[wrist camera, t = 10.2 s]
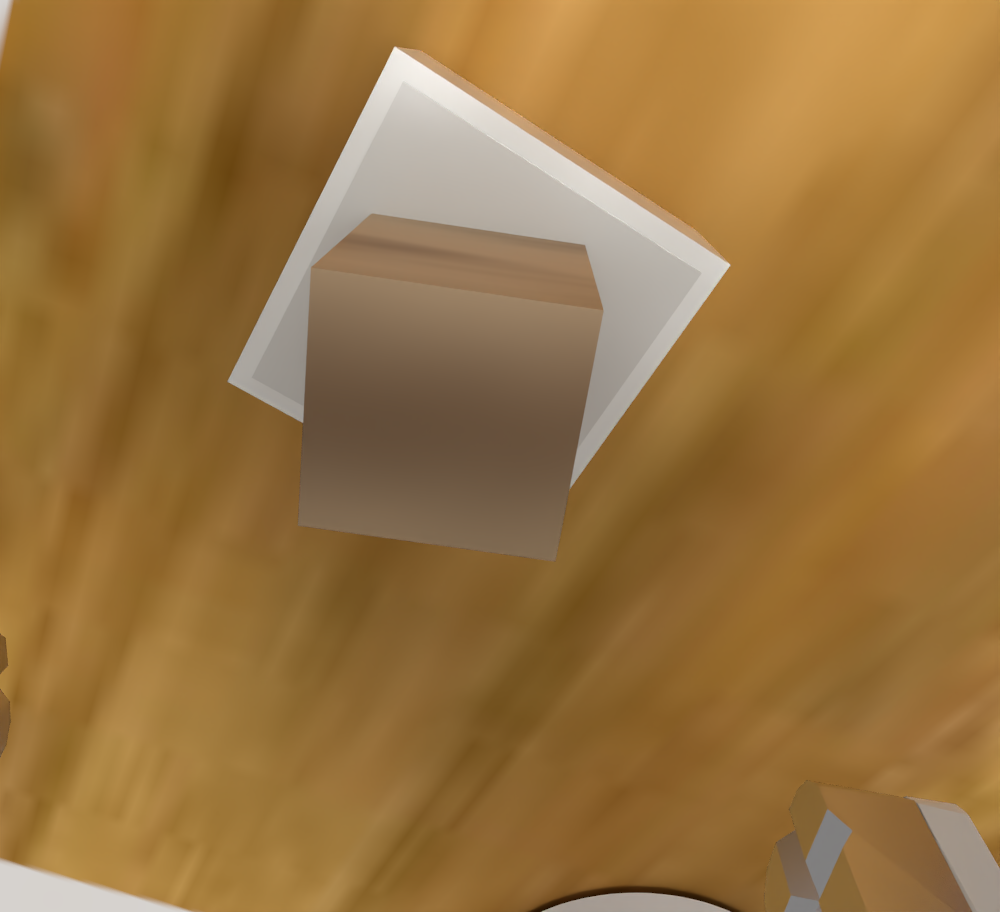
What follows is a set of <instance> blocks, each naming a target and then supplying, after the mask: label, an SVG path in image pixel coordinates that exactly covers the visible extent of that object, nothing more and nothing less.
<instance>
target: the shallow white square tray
mask: <svg viewBox="0 0 1000 912" xmlns="http://www.w3.org/2000/svg"><path fill="white" fill-rule="evenodd" d="M371 213H373V214H379V215H386V216H393V217H400V218H406V219H413V220H420V221H427V222H433V223H440V224H447V225H453V226H460V227H467V228H474V229H480V230H487V231H494V232H501V233H507V234H514V235H521V236H528V237H534V238H541V239H548V240H555V241H561V242H568V243H575V244H582V245H585V247H586V250H587V254H588V257H589V261H590V264H591V268H592V271H593V275H594V278H595V282H596V285H597V289H598V292H599V296H600V299H601V303H602V306H603V310H604V312H603V317H602V322H601V327H600V332H599V338H598V343H597V348H596V353H595V358H594V364H593V369H592V374H591V379H590V384H589V390H588V395H587V400H586V405H585V410H584V416H583V421H582V426H581V431H580V437H579V442H578V447H577V452H576V457H575V463H574V468H573V473H572V478H571V483H570V488H571V487H572V485H573V484H574V482H575V481H576V480H577V478H578V477H579V475H580V474H581V473H582V471H583V470H584V468H585V467H586V466H587V464H588V463H589V461H590V460H591V459H592V457H593V456H594V454H595V453H596V452H597V450H598V449H599V448H600V446H601V445H602V443H603V442H604V441H605V439H606V438H607V436H608V435H609V434H610V432H611V431H612V429H613V428H614V427H615V425H616V424H617V422H618V421H619V420H620V418H621V417H622V415H623V414H624V413H625V411H626V410H627V409H628V407H629V406H630V404H631V403H632V402H633V400H634V399H635V397H636V396H637V395H638V393H639V392H640V390H641V389H642V388H643V386H644V385H645V383H646V382H647V381H648V379H649V378H650V376H651V375H652V374H653V372H654V371H655V370H656V368H657V367H658V365H659V364H660V363H661V361H662V360H663V358H664V357H665V356H666V354H667V353H668V351H669V350H670V349H671V347H672V346H673V344H674V343H675V342H676V340H677V339H678V337H679V336H680V335H681V333H682V332H683V331H684V329H685V328H686V326H687V325H688V324H689V322H690V321H691V319H692V318H693V317H694V315H695V314H696V312H697V311H698V310H699V308H700V307H701V305H702V304H703V303H704V301H705V300H706V298H707V297H708V296H709V294H710V293H711V292H712V290H713V289H714V287H715V286H716V285H717V283H718V282H719V280H720V279H721V278H722V276H723V275H724V273H725V272H726V271H727V269H728V268H729V266H730V264H729V263H728V262H727V261H726V260H725V259H724V258H723V257H722V256H721V255H720V254H719V253H718V252H717V251H716V250H715V249H714V248H713V247H712V246H711V245H710V244H709V243H708V242H707V241H706V240H705V239H704V238H703V237H702V236H701V235H700V234H699V233H698V232H697V231H696V230H695V229H693V228H692V227H690V226H689V225H687V224H686V223H684V222H683V221H681V220H680V219H678V218H677V217H675V216H674V215H672V214H670V213H669V212H667V211H666V210H664V209H663V208H661V207H660V206H658V205H657V204H655V203H654V202H652V201H651V200H649V199H648V198H646V197H644V196H643V195H641V194H640V193H638V192H637V191H635V190H634V189H632V188H631V187H629V186H628V185H626V184H625V183H623V182H621V181H620V180H618V179H617V178H615V177H614V176H612V175H611V174H609V173H608V172H606V171H605V170H603V169H602V168H600V167H599V166H597V165H595V164H594V163H592V162H591V161H589V160H588V159H586V158H585V157H583V156H582V155H580V154H579V153H577V152H576V151H574V150H572V149H571V148H569V147H568V146H566V145H565V144H563V143H562V142H560V141H559V140H557V139H556V138H554V137H553V136H551V135H550V134H548V133H546V132H545V131H543V130H542V129H540V128H539V127H537V126H536V125H534V124H533V123H531V122H530V121H528V120H527V119H525V118H524V117H522V116H520V115H519V114H517V113H516V112H514V111H513V110H511V109H510V108H508V107H507V106H505V105H504V104H502V103H501V102H499V101H497V100H496V99H494V98H493V97H491V96H490V95H488V94H487V93H485V92H484V91H482V90H481V89H479V88H478V87H476V86H475V85H473V84H471V83H470V82H468V81H467V80H465V79H464V78H462V77H461V76H459V75H458V74H456V73H455V72H453V71H452V70H450V69H448V68H447V67H445V66H444V65H442V64H441V63H439V62H438V61H436V60H435V59H433V58H432V57H430V56H429V55H427V54H426V53H424V52H422V51H421V50H415V49H408V48H401V47H394V49H393V51H392V53H391V55H390V57H389V59H388V61H387V63H386V65H385V67H384V69H383V71H382V73H381V75H380V77H379V79H378V81H377V83H376V85H375V87H374V89H373V91H372V93H371V95H370V97H369V99H368V101H367V103H366V105H365V107H364V109H363V111H362V113H361V115H360V117H359V119H358V121H357V123H356V125H355V127H354V129H353V131H352V133H351V135H350V137H349V139H348V141H347V143H346V145H345V147H344V149H343V151H342V153H341V155H340V157H339V159H338V161H337V163H336V165H335V167H334V169H333V171H332V173H331V175H330V177H329V179H328V181H327V183H326V185H325V187H324V189H323V191H322V193H321V195H320V197H319V199H318V201H317V203H316V205H315V207H314V209H313V211H312V213H311V215H310V217H309V219H308V221H307V223H306V225H305V227H304V229H303V231H302V233H301V235H300V237H299V239H298V241H297V243H296V245H295V247H294V249H293V251H292V253H291V255H290V257H289V259H288V261H287V263H286V265H285V267H284V269H283V271H282V273H281V275H280V277H279V279H278V281H277V283H276V285H275V287H274V289H273V291H272V293H271V295H270V297H269V299H268V301H267V303H266V305H265V307H264V309H263V311H262V313H261V315H260V317H259V319H258V322H257V324H256V326H255V328H254V330H253V332H252V334H251V336H250V338H249V340H248V342H247V344H246V346H245V348H244V350H243V352H242V354H241V356H240V358H239V360H238V362H237V364H236V366H235V368H234V370H233V372H232V374H231V376H230V378H229V380H228V382H229V383H231V384H233V385H234V386H236V387H238V388H240V389H242V390H244V391H245V392H247V393H249V394H251V395H253V396H254V397H256V398H258V399H260V400H262V401H264V402H265V403H267V404H269V405H271V406H273V407H275V408H276V409H278V410H280V411H282V412H284V413H285V414H287V415H289V416H291V417H293V418H295V419H296V420H298V421H300V422H302V423H303V414H304V394H305V374H306V355H307V335H308V315H309V295H310V275H311V267H312V266H313V265H314V264H315V263H316V262H318V261H319V260H320V259H321V258H322V257H323V256H324V255H325V254H327V253H328V252H329V251H330V250H331V249H332V248H333V247H334V246H336V245H337V244H338V243H339V242H340V241H341V240H342V239H343V238H344V237H346V236H347V235H348V234H349V233H350V232H351V231H352V230H353V229H355V228H356V227H357V226H358V225H359V224H360V223H361V222H362V221H364V220H365V219H366V218H367V217H368V216H369V215H370V214H371Z"/></svg>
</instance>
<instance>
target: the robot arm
mask: <svg viewBox="0 0 1000 912" xmlns="http://www.w3.org/2000/svg"><path fill="white" fill-rule="evenodd" d="M7 666H8V658H7V648H6V638H5V637H4V636H2V635H1V634H0V674H1V673H2V672H3V671H4V669H5V668H6V667H7ZM10 723H11V718H10V701H9V700H8V699H7V697H6V696H5V695H4V693H3V692H2V691H1V689H0V757H1V755H2V753H3V751H4V749H5V746H6V743H7V738H8V733H9V728H10ZM789 811H790V814H791V818H792V821H793V824H794V827H795V831H793V832H792V833H790V834H789V835H787V836H785V837H784V838H782V839H781V840H779V841H778V842H776V844H775V847H774V849H773V852H772V855H771V858H770V861H769V864H768V867H767V873H766V883H765V893H764V900H765V912H1000V868H999V867H998V865H997V863H996V861H995V860H994V858H993V856H992V855H991V853H990V851H989V849H988V848H987V846H986V844H985V843H984V841H983V839H982V838H981V836H980V834H979V832H978V831H977V829H976V827H975V826H974V824H973V822H972V820H971V819H970V817H969V815H968V814H967V813H966V812H965V811H964V810H962V809H961V808H960V807H958V806H957V805H956V804H951V803H945V802H939V801H932V800H926V799H920V798H914V797H907V796H906V797H899V796H894V795H888V794H882V793H877V792H871V791H866V790H860V789H854V788H849V787H843V786H838V785H832V784H826V783H821V782H815V781H810V780H806V781H805V782H804V783H803V784H802V785H801V786H800V787H799V788H798V790H797V791H796V794H795V796H794V798H793V801H792V803H791V806H790V808H789ZM542 912H730V911H728V910H726V909H723V908H720V907H718V906H715V905H712V904H709V903H706V902H702V901H698V900H694V899H690V898H685V897H680V896H674V895H666V894H655V893H617V894H606V895H598V896H593V897H587V898H582V899H578V900H574V901H570V902H567V903H563V904H560V905H557V906H554V907H552V908H549V909H546V910H544V911H542Z"/></svg>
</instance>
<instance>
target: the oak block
mask: <svg viewBox="0 0 1000 912" xmlns="http://www.w3.org/2000/svg"><path fill="white" fill-rule="evenodd" d="M603 312H604V310H603V306H602V303H601V299H600V296H599V292H598V289H597V285H596V282H595V278H594V275H593V271H592V268H591V264H590V261H589V257H588V254H587V250H586V247H585V245H582V244H575V243H568V242H561V241H555V240H548V239H541V238H534V237H528V236H521V235H514V234H507V233H501V232H494V231H487V230H480V229H474V228H467V227H460V226H453V225H447V224H440V223H433V222H427V221H420V220H413V219H406V218H400V217H393V216H386V215H379V214H373V213H371V214H370V215H369V216H368V217H367V218H366V219H365V220H364V221H362V222H361V223H360V224H359V225H358V226H357V227H356V228H355V229H353V230H352V231H351V232H350V233H349V234H348V235H347V236H346V237H344V238H343V239H342V240H341V241H340V242H339V243H338V244H337V245H336V246H334V247H333V248H332V249H331V250H330V251H329V252H328V253H327V254H325V255H324V256H323V257H322V258H321V259H320V260H319V261H318V262H316V263H315V264H314V265H313V266H312V267H311V275H310V295H309V315H308V335H307V355H306V374H305V394H304V414H303V434H302V454H301V474H300V494H299V514H298V526H304V527H311V528H318V529H325V530H332V531H339V532H347V533H354V534H361V535H368V536H375V537H382V538H390V539H397V540H404V541H411V542H418V543H425V544H433V545H440V546H447V547H454V548H461V549H468V550H476V551H483V552H490V553H497V554H504V555H511V556H519V557H526V558H533V559H540V560H547V561H554V562H555V561H556V556H557V551H558V546H559V541H560V535H561V530H562V525H563V520H564V515H565V509H566V504H567V499H568V494H569V489H570V483H571V478H572V473H573V468H574V463H575V457H576V452H577V447H578V442H579V437H580V431H581V426H582V421H583V416H584V410H585V405H586V400H587V395H588V390H589V384H590V379H591V374H592V369H593V364H594V358H595V353H596V348H597V343H598V338H599V332H600V327H601V322H602V317H603Z"/></svg>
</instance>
